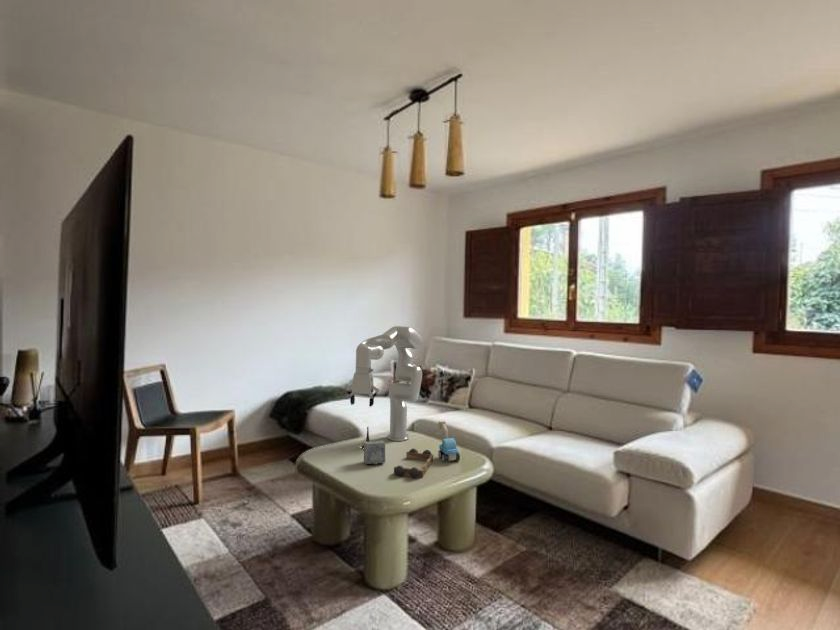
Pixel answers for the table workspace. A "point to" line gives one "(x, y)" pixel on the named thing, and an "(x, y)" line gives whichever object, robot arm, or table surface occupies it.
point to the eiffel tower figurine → (366, 438)
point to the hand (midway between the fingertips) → (361, 405)
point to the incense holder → (374, 452)
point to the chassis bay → (415, 471)
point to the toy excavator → (447, 446)
